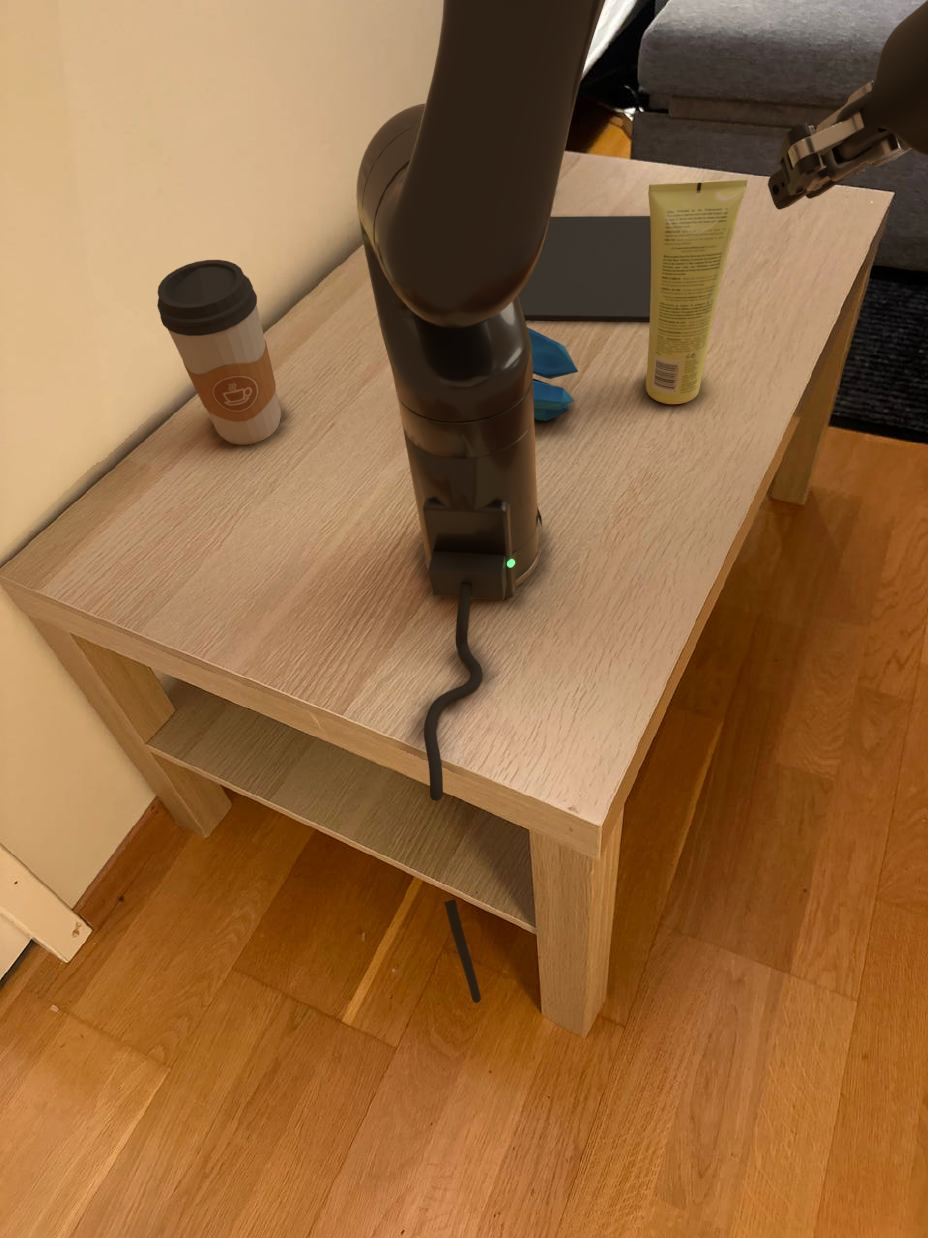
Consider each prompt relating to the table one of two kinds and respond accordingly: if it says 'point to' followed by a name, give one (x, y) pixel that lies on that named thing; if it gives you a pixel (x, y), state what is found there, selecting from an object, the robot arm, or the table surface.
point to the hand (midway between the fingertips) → (791, 188)
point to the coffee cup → (222, 347)
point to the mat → (592, 271)
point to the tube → (686, 279)
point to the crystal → (549, 376)
